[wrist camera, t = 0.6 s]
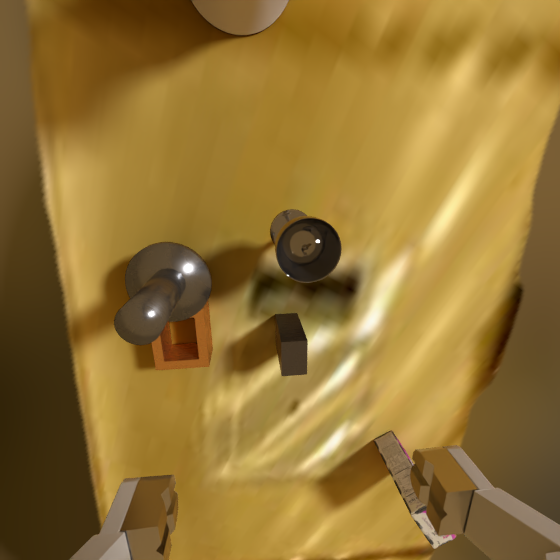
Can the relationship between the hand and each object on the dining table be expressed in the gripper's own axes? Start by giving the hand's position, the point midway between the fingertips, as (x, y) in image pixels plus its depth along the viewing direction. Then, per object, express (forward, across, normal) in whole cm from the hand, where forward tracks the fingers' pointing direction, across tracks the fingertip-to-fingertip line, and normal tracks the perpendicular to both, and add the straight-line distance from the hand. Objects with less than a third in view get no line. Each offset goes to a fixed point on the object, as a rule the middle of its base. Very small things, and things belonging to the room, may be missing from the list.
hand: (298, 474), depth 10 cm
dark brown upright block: (+43, -5, +16) cm, 46 cm away
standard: (+43, +13, +9) cm, 45 cm away
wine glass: (+43, -6, -2) cm, 43 cm away
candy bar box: (+44, -29, +48) cm, 71 cm away
